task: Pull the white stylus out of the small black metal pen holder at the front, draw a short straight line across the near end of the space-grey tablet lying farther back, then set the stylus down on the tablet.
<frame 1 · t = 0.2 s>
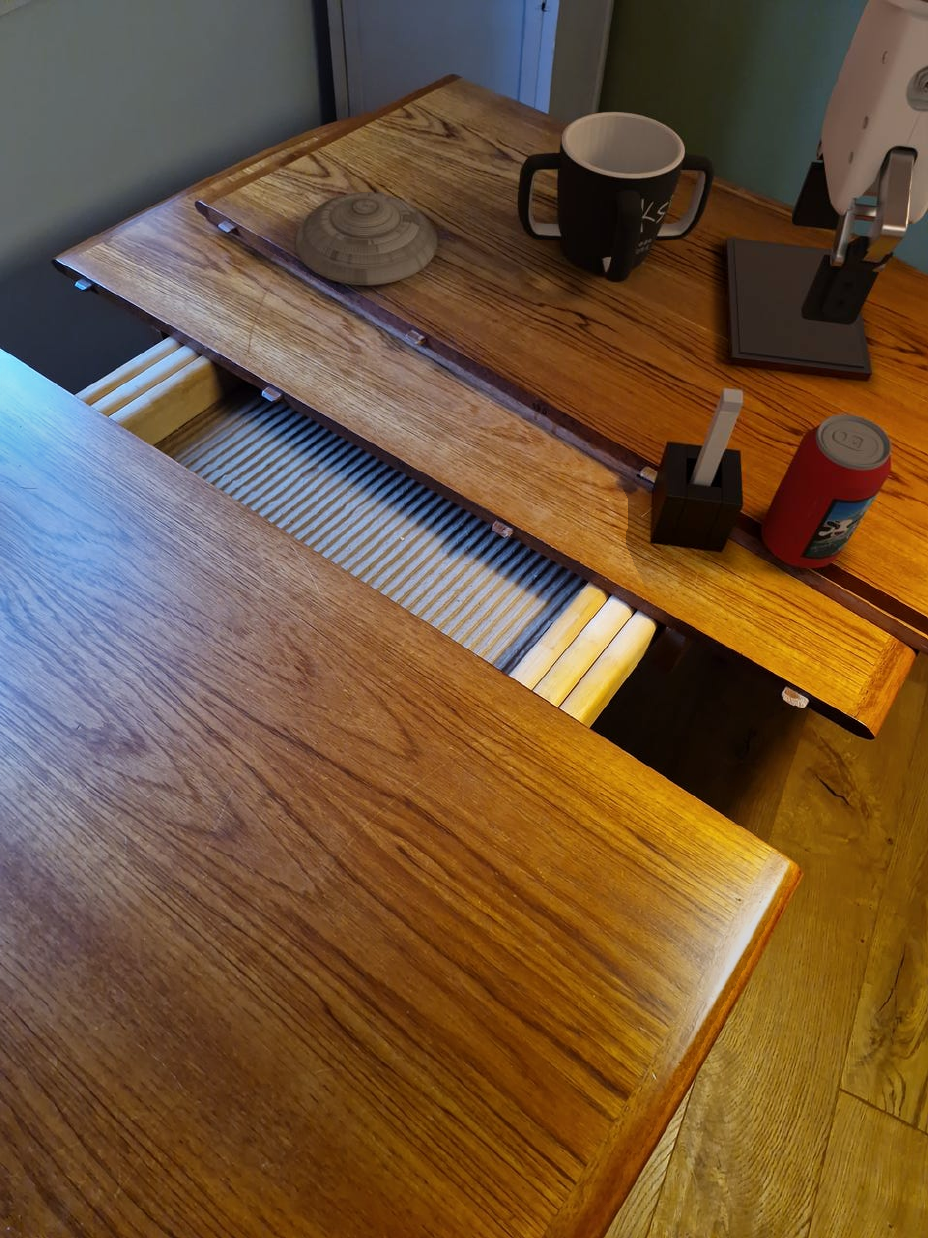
hand: (820, 269, 56), 24 cm above the table, tool pointing down, fingers open, 9 cm apart
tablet: (791, 308, 93), on the table
saucer: (367, 254, 96), on the table
beverage can: (796, 544, 75), on the table
stylus: (707, 463, 70), in the pen holder
mug: (602, 253, 97), on the table
pen holder: (685, 521, 76), on the table
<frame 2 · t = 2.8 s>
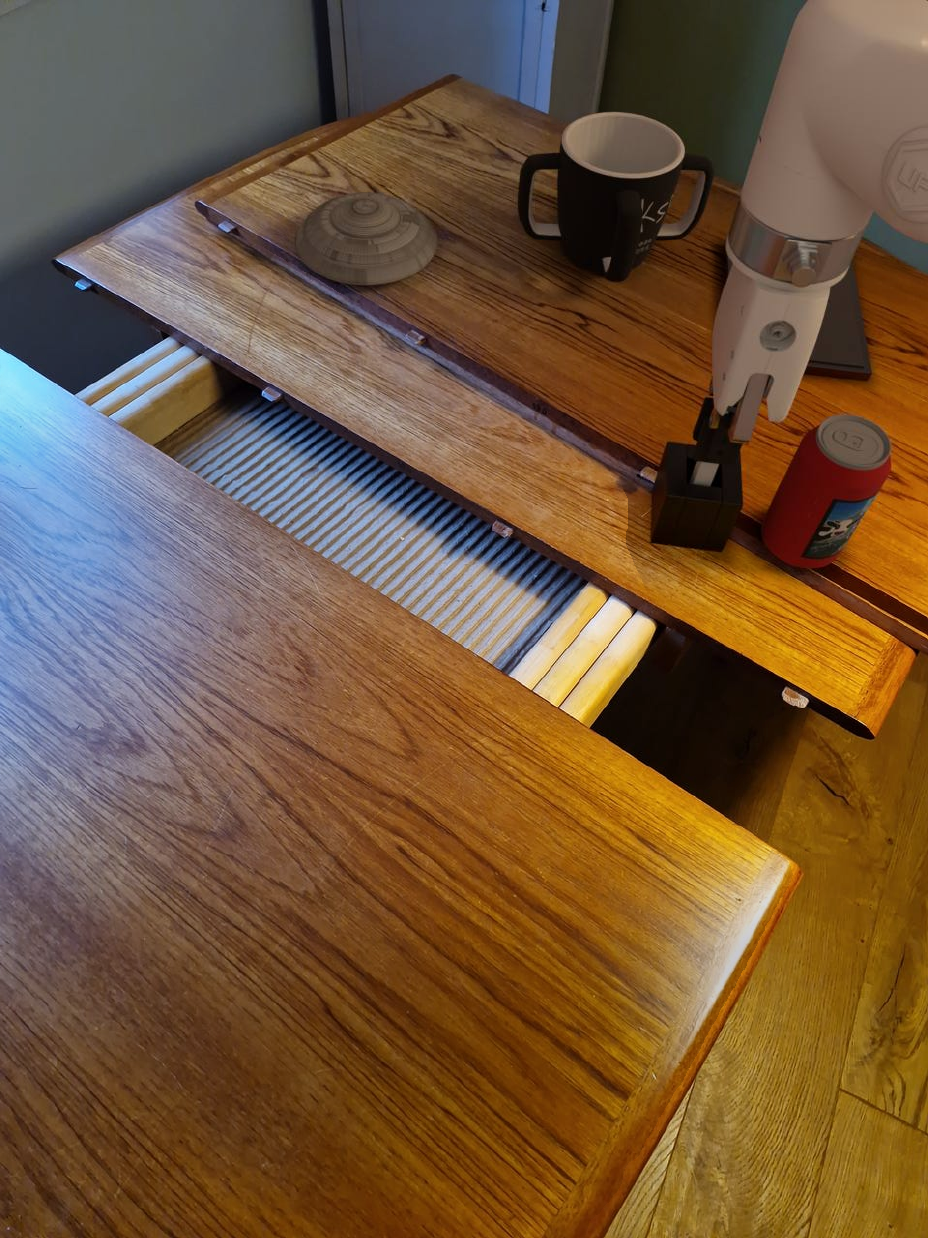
hand: (712, 449, 69), 9 cm above the table, tool pointing down, fingers closed on stylus, 1 cm apart
stylus: (707, 463, 70), in the pen holder, touching gripper
everything else where it was.
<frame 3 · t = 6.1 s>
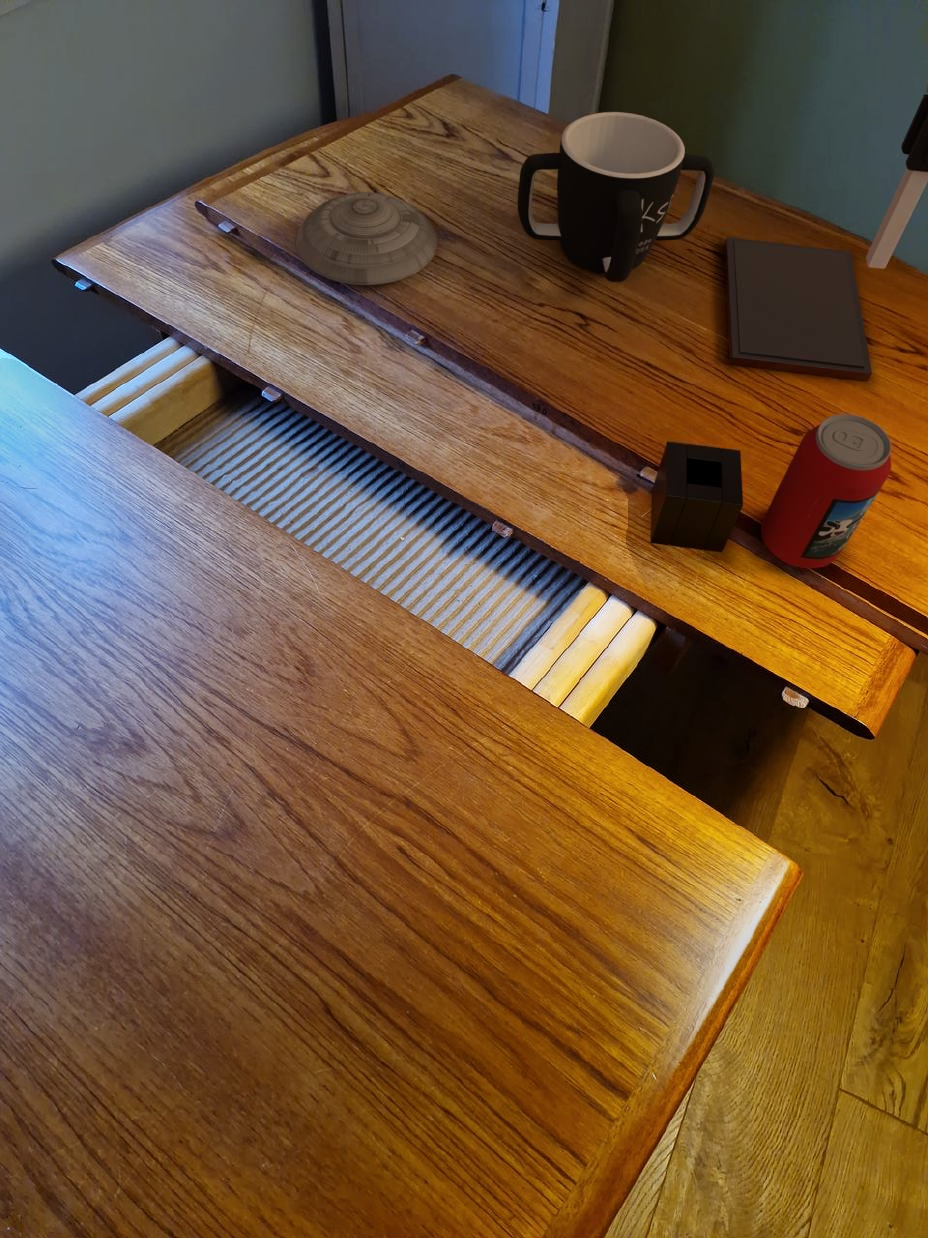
hand: (924, 160, 66), 23 cm above the table, tool pointing down, fingers closed on stylus, 1 cm apart
stylus: (914, 180, 67), point 22 cm above the table, touching gripper
everything else where it was.
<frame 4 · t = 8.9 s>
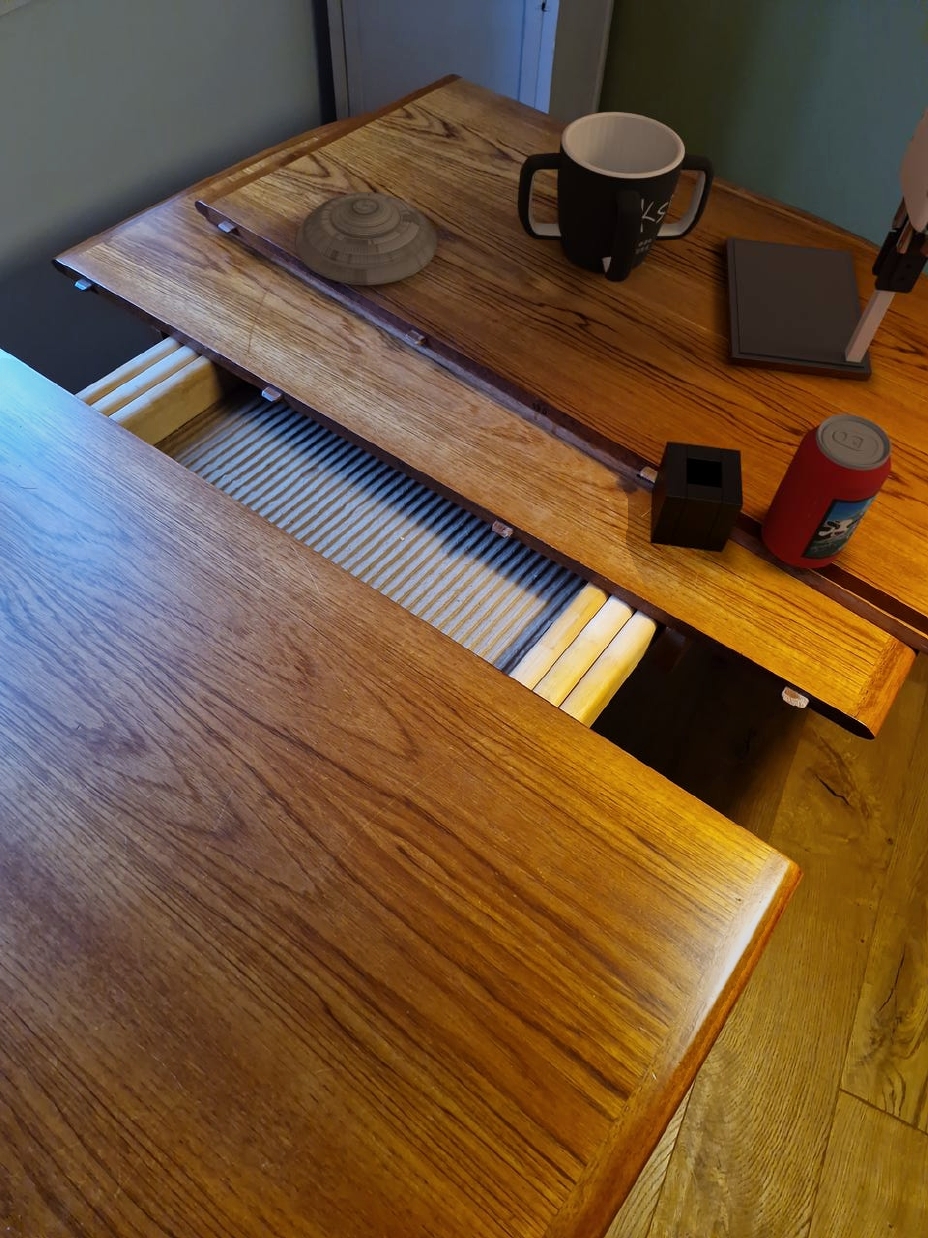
hand: (890, 281, 80), 10 cm above the table, tool pointing down, fingers closed on stylus, 1 cm apart
stylus: (882, 295, 81), on the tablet, point 8 cm above the table, touching gripper
everything else where it was.
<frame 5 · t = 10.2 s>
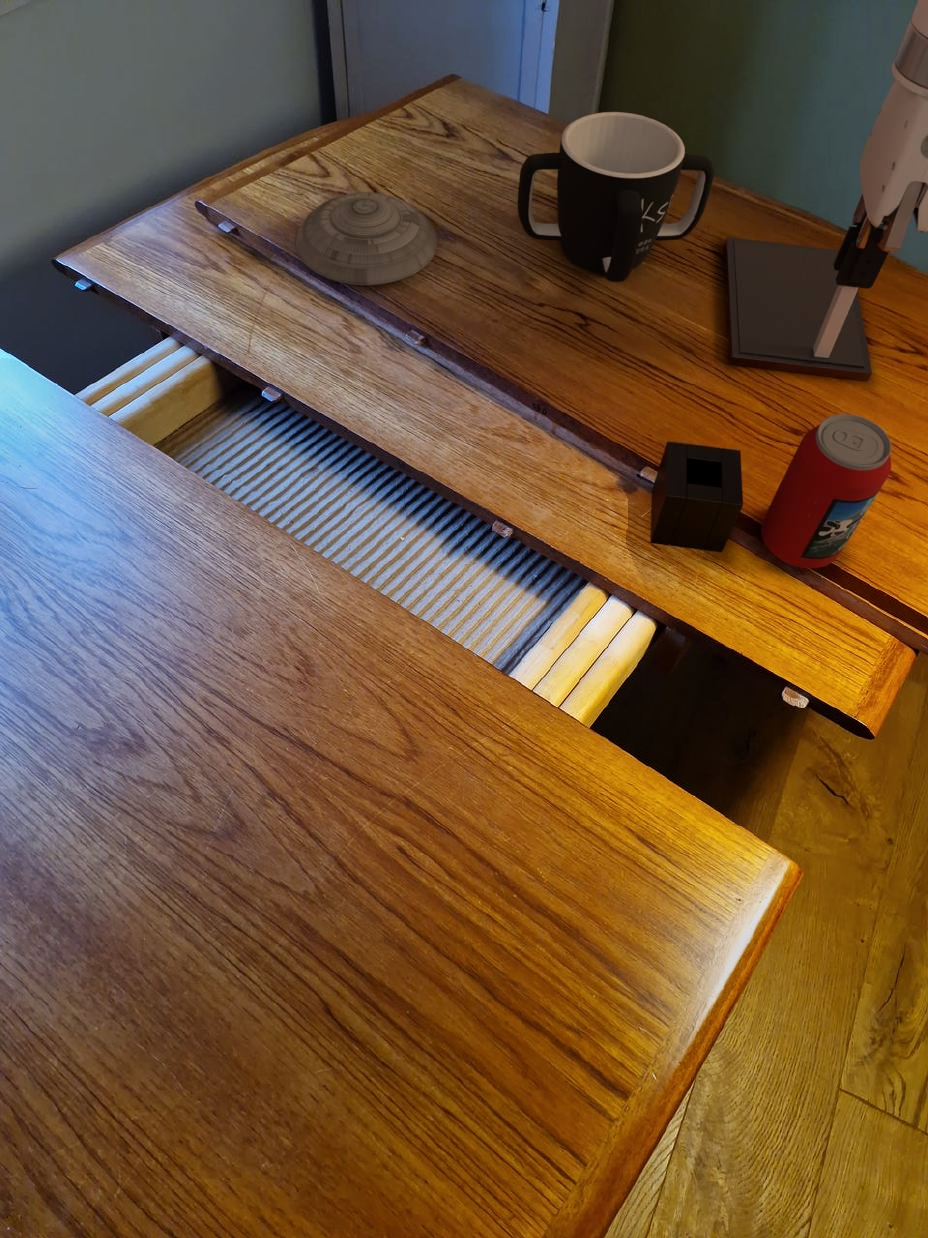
hand: (851, 276, 80), 10 cm above the table, tool pointing down, fingers closed on stylus, 1 cm apart
stylus: (846, 290, 82), on the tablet, point 8 cm above the table, touching gripper
everything else where it was.
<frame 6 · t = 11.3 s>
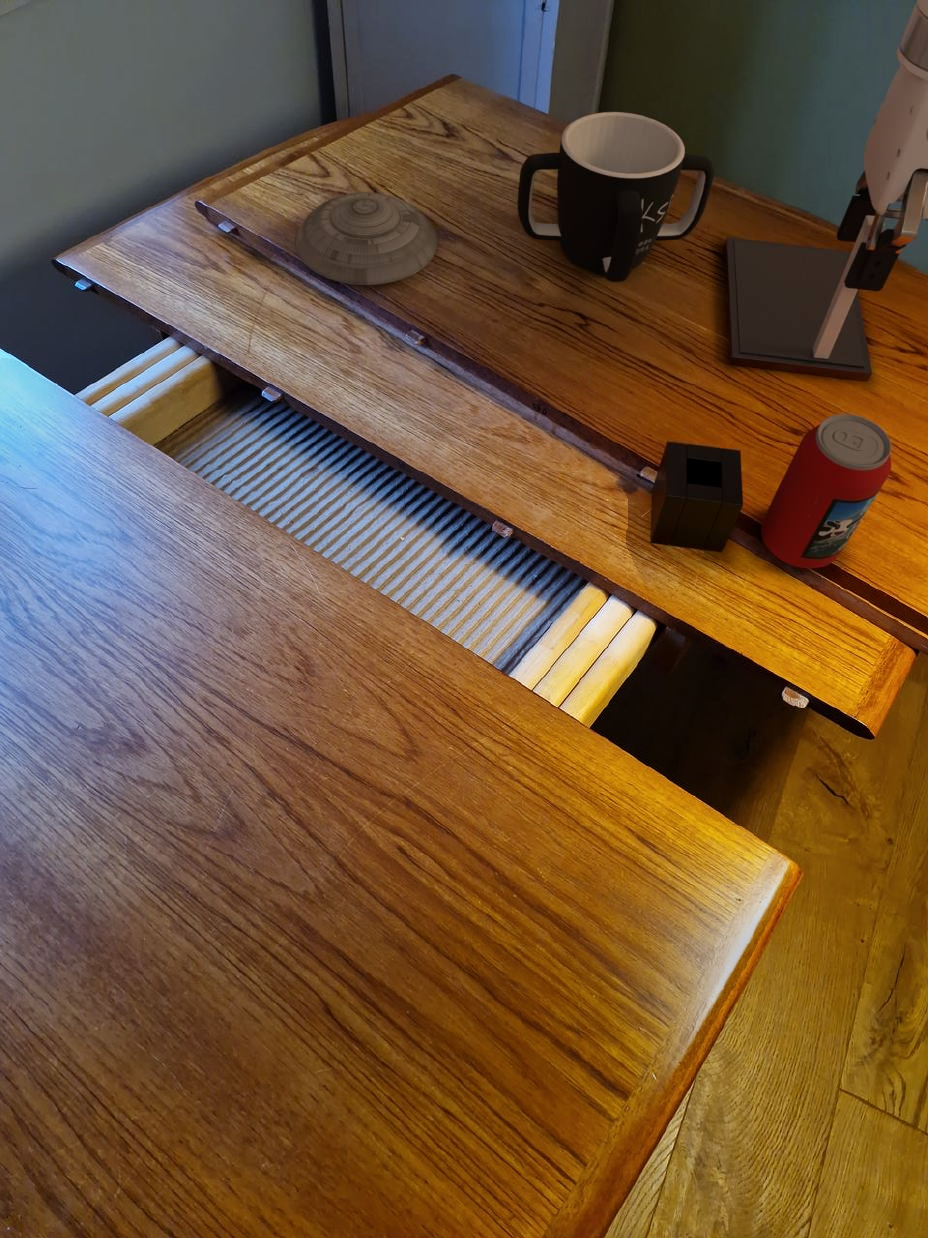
hand: (858, 261, 79), 11 cm above the table, tool pointing down, fingers open, 6 cm apart
stylus: (845, 291, 81), on the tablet, point 8 cm above the table
everything else where it was.
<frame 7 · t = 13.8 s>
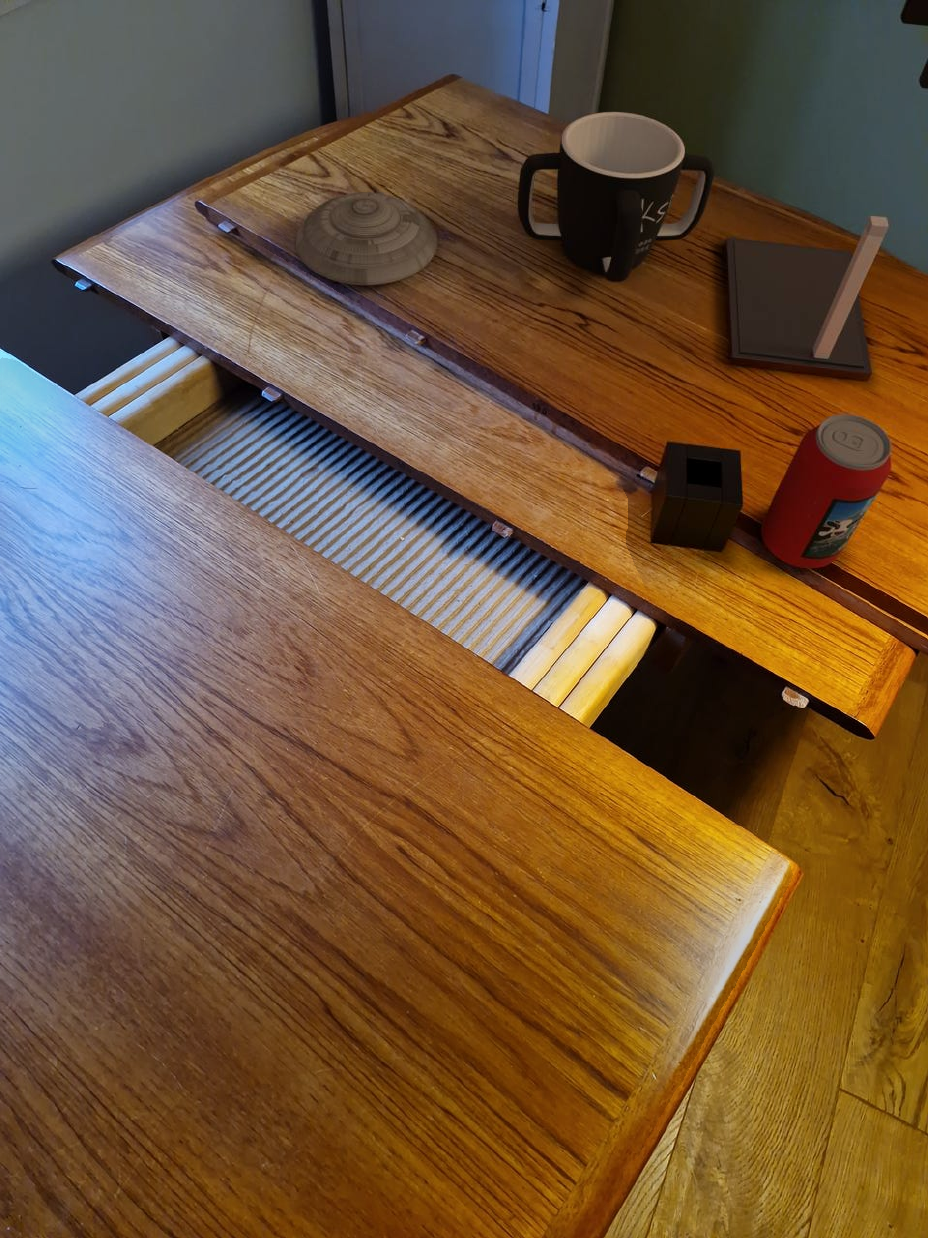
nothing on the table moved.
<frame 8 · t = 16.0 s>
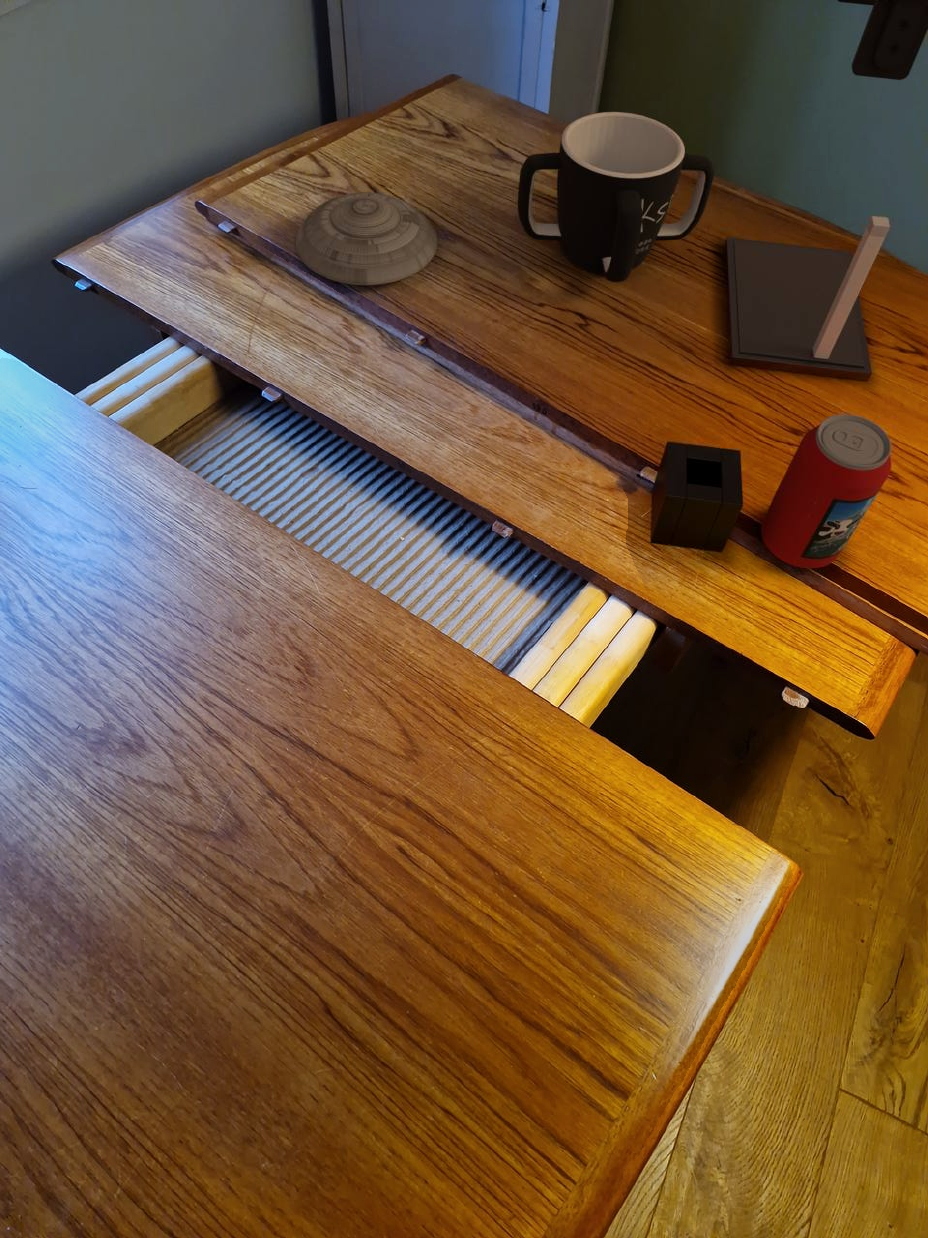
hand: (868, 36, 55), 33 cm above the table, tool pointing down, fingers open, 9 cm apart
nothing on the table moved.
at the end: stylus inside the target area on the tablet (8.4 cm from its centre), point 8.1 cm above the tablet's base; the gripper is holding nothing; stylus moved 26.2 cm from its start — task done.
